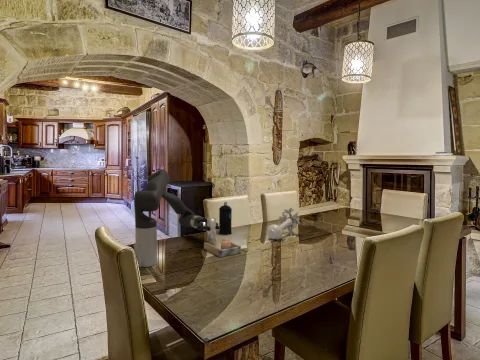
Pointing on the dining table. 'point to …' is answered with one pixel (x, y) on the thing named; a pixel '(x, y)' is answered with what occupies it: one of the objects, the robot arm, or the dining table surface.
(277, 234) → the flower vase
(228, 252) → the channel
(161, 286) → the dining table surface
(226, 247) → the cylinder
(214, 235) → the shaft
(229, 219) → the aerosol can
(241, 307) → the dining table surface
